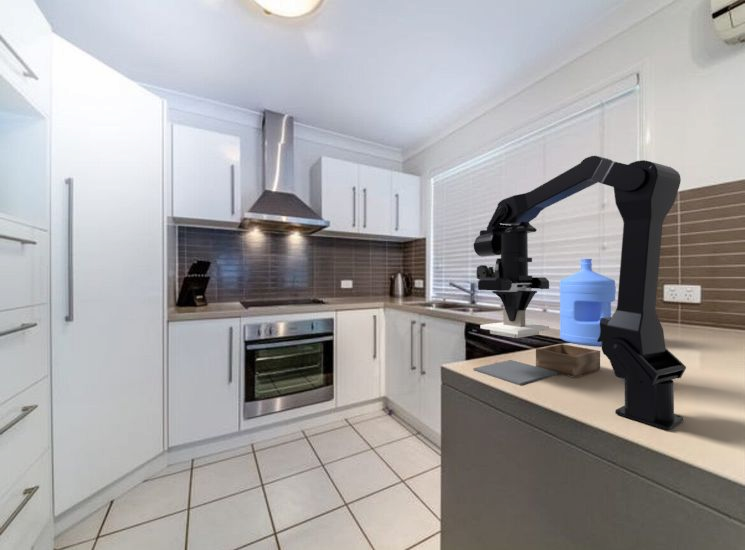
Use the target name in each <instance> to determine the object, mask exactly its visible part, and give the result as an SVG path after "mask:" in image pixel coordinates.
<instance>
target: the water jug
mask: <svg viewBox="0 0 745 550" xmlns="http://www.w3.org/2000/svg"><path fill="white" fill-rule="evenodd" d="M592 261H593V259H592V258H582V259H581V258H580V270H579V271H577V272H576V273H572V274H571V275H570V276H566V277H564V278H562V279H560V281H559V303H560V304H559V318H560V319H559V321H560V325H559V327H560V330H559V339H561V340H562V341H564V342H567V343H571V344H577V345H583V346H592V347H593V346H594V347H601V343H602V342H598V341H597V340H598V338H599V337H600V319H601V318H606V317H612V302H613V303H614V302H615V301H616V293H617V289H616V288H617V287H616V281H615V279H612V278H610V277H608V276H605V275H603V274H600V273H598V272H595V271H593V264H592V263H593V262H592Z"/></svg>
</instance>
